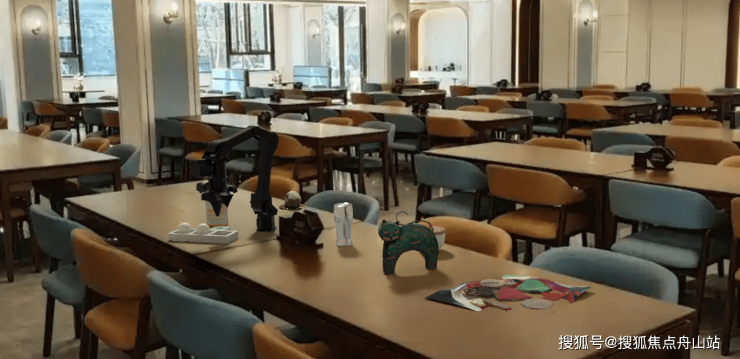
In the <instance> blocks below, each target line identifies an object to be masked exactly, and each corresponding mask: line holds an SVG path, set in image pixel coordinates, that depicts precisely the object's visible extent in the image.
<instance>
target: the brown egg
mask: <svg viewBox="0 0 740 359" xmlns="http://www.w3.org/2000/svg"><path fill="white" fill-rule="evenodd" d="M213 211H214V210H213ZM226 213H227V207H226V205H225V204H223V203H222V206H221V210H220V215H219V216H218V217H222V216H224V215H226ZM214 214H215V212H214Z"/></svg>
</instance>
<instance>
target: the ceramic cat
mask: <svg viewBox="0 0 740 359" xmlns="http://www.w3.org/2000/svg"><path fill="white" fill-rule="evenodd" d="M401 213H403V214H406V215H409V213H407V211H405V210H401V211H399V212H397V213H396V217H395V220H396V221H392V220H386V219H383V220H382V221H381V222H380V223H379V225H378V227H377V233H378V234H377V235H378V236H379V238H380V239H381V241H383V244H382V254H381V256H382V272H383V273H384V275H387V276H388V275H394V274H395V271H396V266H397V262H398V260H399V258H400V257H401V256H402V254H403V255H404V253H409V252H411V251H414V252H415V251H416V252H419V253H420V254H422V255H423V256H424V266H425V269H427V271H434V270H437V268H438V260H439V259H438V258H439V251H440V249H439V250H438V248H439V246H438V241H437V238H436V236H435V234H434V233H433V232H434V229H433V226H434V225H432V224H431V223H430V222H429V221H427V220H424V219H417V220H413V221H410V222H409V223H405V224H402V223H400V222H401V221H399V220H398V215H399V214H401ZM417 222H422V223H427V224H428V225H425V224H422V223H417ZM429 225H430V226H431V227H432V229H433V230H431V229H430V228H429V227H427V226H429Z"/></svg>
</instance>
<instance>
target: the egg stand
mask: <svg viewBox="0 0 740 359" xmlns="http://www.w3.org/2000/svg"><path fill="white" fill-rule="evenodd" d="M210 230H227V231H232V227H231V226H213V227H210Z"/></svg>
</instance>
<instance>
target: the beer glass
mask: <svg viewBox="0 0 740 359" xmlns="http://www.w3.org/2000/svg"><path fill="white" fill-rule="evenodd" d="M353 212H354V211H353V204H352V203H351V202H339V203H335V204H333V221H334V226H335V231H336V232H335V233H336V243H335V245H336V247H350V246H352V245H353V238H352V227H353V223H354V222H353V220H354V219H353V218H354V215H353V214H354V213H353Z"/></svg>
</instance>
